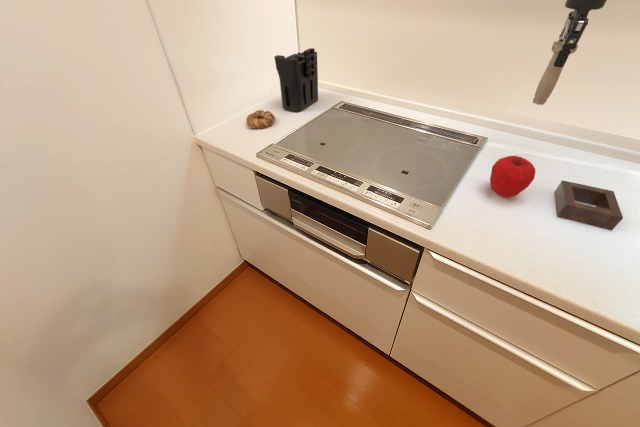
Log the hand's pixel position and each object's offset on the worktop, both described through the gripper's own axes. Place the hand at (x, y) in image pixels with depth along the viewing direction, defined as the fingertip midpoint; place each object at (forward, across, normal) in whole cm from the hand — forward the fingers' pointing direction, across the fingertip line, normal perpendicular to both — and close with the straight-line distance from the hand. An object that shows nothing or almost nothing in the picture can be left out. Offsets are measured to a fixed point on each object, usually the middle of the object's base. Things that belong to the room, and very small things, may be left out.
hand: (557, 62), depth 77 cm
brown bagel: (+26, -18, +88) cm, 94 cm away
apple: (+27, -24, +2) cm, 37 cm away
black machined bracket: (+26, +6, +83) cm, 87 cm away
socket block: (+27, -23, -16) cm, 39 cm away
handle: (+11, 0, 0) cm, 11 cm away
